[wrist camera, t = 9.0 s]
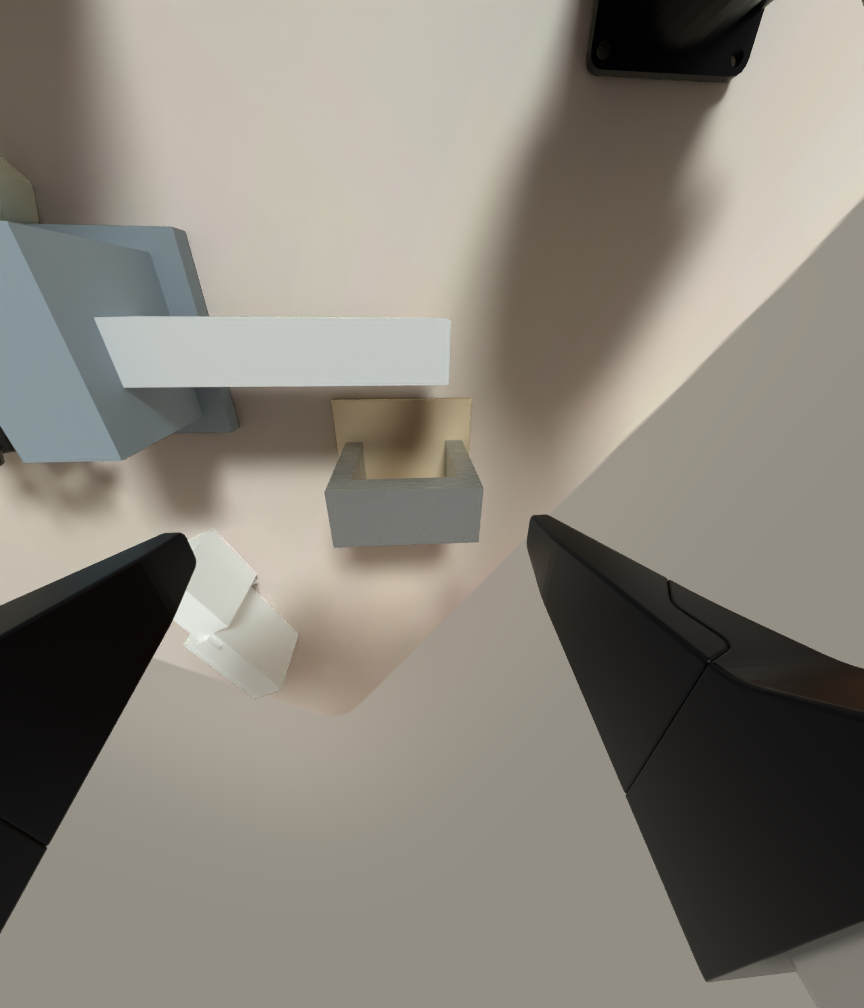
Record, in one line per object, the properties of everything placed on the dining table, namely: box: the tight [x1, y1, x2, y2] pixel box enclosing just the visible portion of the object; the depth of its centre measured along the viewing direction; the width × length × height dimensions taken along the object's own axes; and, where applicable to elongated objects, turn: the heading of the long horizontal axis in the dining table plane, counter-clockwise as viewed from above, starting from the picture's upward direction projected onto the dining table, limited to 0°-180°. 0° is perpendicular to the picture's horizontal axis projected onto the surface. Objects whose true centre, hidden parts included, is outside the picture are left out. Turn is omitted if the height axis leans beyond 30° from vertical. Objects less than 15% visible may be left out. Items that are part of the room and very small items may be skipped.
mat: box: [331, 398, 472, 479], centre depth 22 cm, size 8×8×1 cm
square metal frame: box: [324, 440, 483, 548], centre depth 19 cm, size 3×7×6 cm, turn 90°
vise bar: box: [0, 221, 451, 463], centre depth 15 cm, size 18×9×7 cm, turn 90°
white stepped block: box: [173, 529, 299, 699], centre depth 24 cm, size 15×11×6 cm
